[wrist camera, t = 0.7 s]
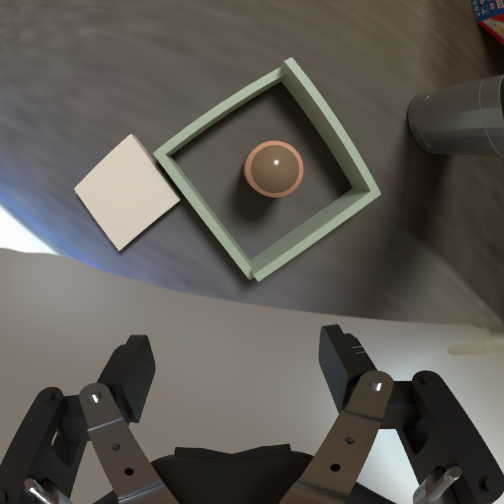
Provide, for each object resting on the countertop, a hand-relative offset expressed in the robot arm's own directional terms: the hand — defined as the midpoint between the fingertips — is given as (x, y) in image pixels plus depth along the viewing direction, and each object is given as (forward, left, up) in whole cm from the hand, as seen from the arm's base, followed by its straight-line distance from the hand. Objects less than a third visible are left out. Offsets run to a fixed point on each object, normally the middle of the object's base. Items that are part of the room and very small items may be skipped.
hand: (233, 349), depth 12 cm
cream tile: (+7, -12, -23) cm, 27 cm away
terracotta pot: (-8, -4, -23) cm, 25 cm away
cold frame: (-8, -4, -23) cm, 25 cm away
